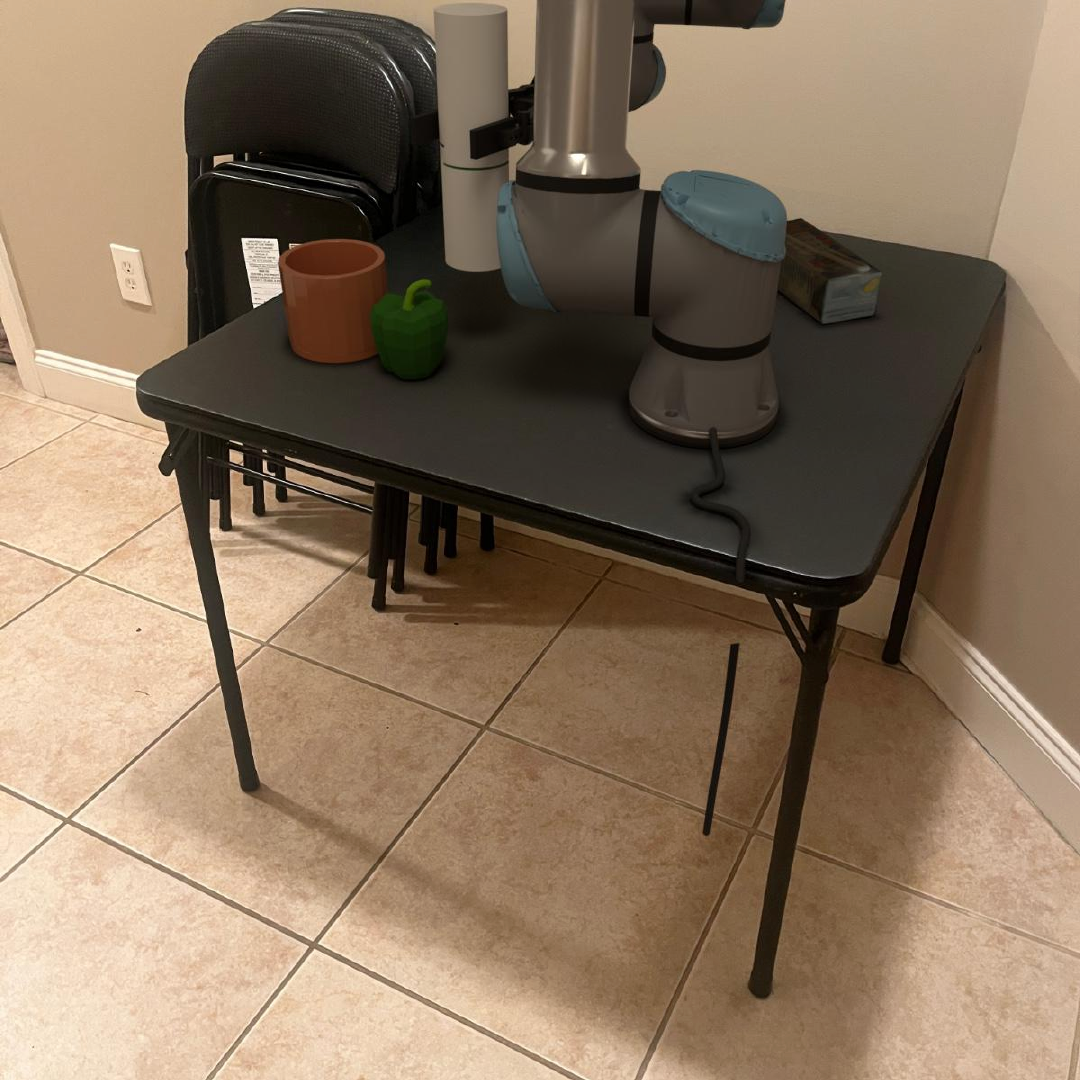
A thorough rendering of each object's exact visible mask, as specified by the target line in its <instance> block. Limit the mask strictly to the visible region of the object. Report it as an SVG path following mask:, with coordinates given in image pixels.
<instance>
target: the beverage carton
mask: <svg viewBox="0 0 1080 1080" xmlns="http://www.w3.org/2000/svg"><path fill="white" fill-rule="evenodd" d="M785 248H786V254H785V257H784V259H782V260H781V267H780V274H779V281H778V288H777V291H778V292H780V293H781V294H782V295H784V296H785V297H786V298H787V299H789V300H790V301H791V302H792V303H794V304H795V305H797V307H799V308H800V309H802V310H803V311H804V312H805V313H807V314H808V315H809V316H811V317H812V318H814V319H815V320H816V321H817V322H818V323H820V324H821V325H826V324H832V323H839V322H845V321H850V320H854V319H859V318H866V317H871V316H874V315H875V311H876V305H877V303H878V296H879V289H880V284H881V281H882V276H883V272H882V271H881V270H879V269H878V268H877V267H875V266H874V265H873V264H871V263H869V262H867V261H866V260H865V259H864V258H862V257H861V256H859V255H858V254H856V253H855V252H854V251H852V250H850V249H849V248H848V247H846V246H844V245H843V244H842V243H840V242H838V241H837V240H835V239H834V238H833V237H831V236H830V235H828V234H826V233H825V232H824V231H822V230H821V229H819V228H818V227H817V226H815V225H813V224H812V223H810V222H809V221H806V220H805V219H803V218H802V217H799V218H795V219H791V220H789V219H788V220H787V225H786V235H785Z"/></svg>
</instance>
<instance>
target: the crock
mask: <svg viewBox="0 0 1080 1080" xmlns="http://www.w3.org/2000/svg"><path fill="white" fill-rule="evenodd" d="M277 266H278V267H277V268H278V272H279V273H278V274H279V280H280V286H281V292H282V293H281V294H282V299H283V306H284V313H285V319H286V326H287V332H288V339H289V342H290V348H291V350H292V351H293V352H294V353H295V354H296V355H297V356H299V357H300V358H303V359H304V360H308V361H311V362H314V363H315V362H317V363H321V364H322V363H324V364H347V363H353V362H359V361H363V360H367V359H369V358H372V357H374V356H377V355H379V353H378V350H377V348H376V344H375V341H374V338H373V335H372V332H371V324H370V312H371V310H372V307H373V305H375V304H377V303H378V302H379V301H380V300H381V299H382V298H383V297H384V296H385V295H386V294H387V293H389V290H388V289H389V288H388V279H387V278H388V277H387V266H386V255H385V251H384V250H383V249H382V248H380V247H379V246H378V245H376V244H373V243H371V242H368V241H363V240H358V239H350V238H349V239H346V238H331V239H330V238H329V239H328V238H327V239H319V240H313V241H308V242H304V243H301V244H298V245H295V246H293V247H290V248H289V249H287V250H285V251H283V252H282V254H281V255H280V256H279V257H278V261H277Z"/></svg>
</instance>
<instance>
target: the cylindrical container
mask: <svg viewBox="0 0 1080 1080" xmlns="http://www.w3.org/2000/svg"><path fill="white" fill-rule="evenodd" d="M508 18H509V17H508V8H507V7H506V6H503V5H500V4H493V3H484V2H457V3H447V4H441V5H438V6H435V7H433V24H434V25H433V26H434V28H433V29H434V45H435V47H434V48H435V49H434V50H435V68H436V69H435V70H436V89H437V100H438V113H439V134H440V139H439V151H440V152H439V154H440V155H439V156H440V176H441V195H442V196H441V197H442V212H443V214H442V215H443V235H444V236H443V237H444V255H445V256H444V257H445V258H444V261H445V263H446V264H447V265H448V267H451V268H453V269H455V270H458V271H462V272H463V271H464V272H470V273H471V272H473V273H475V272H476V273H477V272H478V273H480V272H481V273H482V272H491V271H495V270H498V269H501V266H500V260H499V253H498V243H497V229H496V218H497V216H498V213H497V199H498V194H499V190H500V188H501V187H502V185H503V184H504V183H507V182H509V181H510V148H508V149H505V150H502V151H499V152H497V153H494V154H491V155H488V156H486V157H483V158H480V159H478V160H474V159H470V132H469V130H471V129H474V128H477V127H480V126H483V125H486V124H489V123H492V122H496V121H499V120H502V119H505V118H508V117H509V116H508V89H509V38H508V37H509V35H508V33H509V31H508V30H509V26H508V24H509V23H508V20H509V19H508Z"/></svg>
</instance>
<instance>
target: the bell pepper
mask: <svg viewBox="0 0 1080 1080" xmlns="http://www.w3.org/2000/svg"><path fill="white" fill-rule="evenodd" d="M431 286H432V281H431V280H430V279H427V278H426V279H424V278H422V279H419V280H416V281H414V282H412V283H411V284H410V285H409V287H407V288H406V292H405V296H402V295H399V294H394V293H390V292H388V293H387V294H386V295H385V296H384V297H383V298H382V299H381V300H380V301H379V302H378V303H377V304H375V305H373V307H372V310H371V312H370V324H371V332H372V335H373V338H374V341H375V344H376V348H377V350H378V353H379V354H378V355H379V358H380V360H381V363H382V365H383V367H384V368H385V369H386V370H387V371H388V372H391V373H394V374H395V375H396V376H397V377H400V379H402V380H418V379H419V380H420V379H424V378H428V377H429V376H431V374H433V372H435V369H436V368H438V367H439V365H440V363H441V362H442V359H443V357H444V352H445V348H446V343H447V336H448V331H449V309H448V307H447V304H446V303H445V301H444V299H438V298H437V297H436V296H435V295H433V294H432V293H431V292H430V291H429V288H431ZM422 289H426V290H422ZM419 290H422V291H419Z"/></svg>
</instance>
